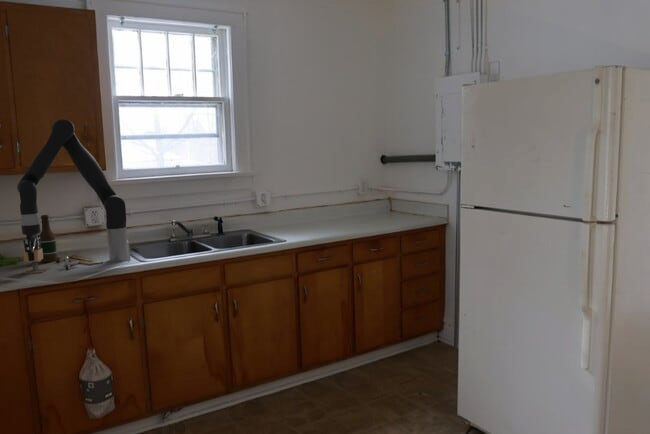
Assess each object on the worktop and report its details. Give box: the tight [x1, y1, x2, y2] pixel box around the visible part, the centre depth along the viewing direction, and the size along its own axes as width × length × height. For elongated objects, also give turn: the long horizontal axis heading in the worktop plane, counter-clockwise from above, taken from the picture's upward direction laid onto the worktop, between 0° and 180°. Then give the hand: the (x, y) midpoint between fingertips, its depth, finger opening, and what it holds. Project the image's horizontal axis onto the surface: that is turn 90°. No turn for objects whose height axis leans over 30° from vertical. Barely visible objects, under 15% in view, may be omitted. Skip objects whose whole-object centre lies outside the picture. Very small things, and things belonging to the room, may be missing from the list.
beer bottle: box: [39, 214, 58, 264], centre depth 273 cm, size 8×8×24 cm
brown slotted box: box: [23, 248, 43, 263], centre depth 248 cm, size 6×6×5 cm
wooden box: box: [21, 261, 50, 275], centre depth 248 cm, size 9×9×7 cm
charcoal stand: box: [56, 256, 79, 272], centre depth 252 cm, size 7×7×6 cm
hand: (34, 259), depth 248 cm, fingers closed on brown slotted box, 6 cm apart
